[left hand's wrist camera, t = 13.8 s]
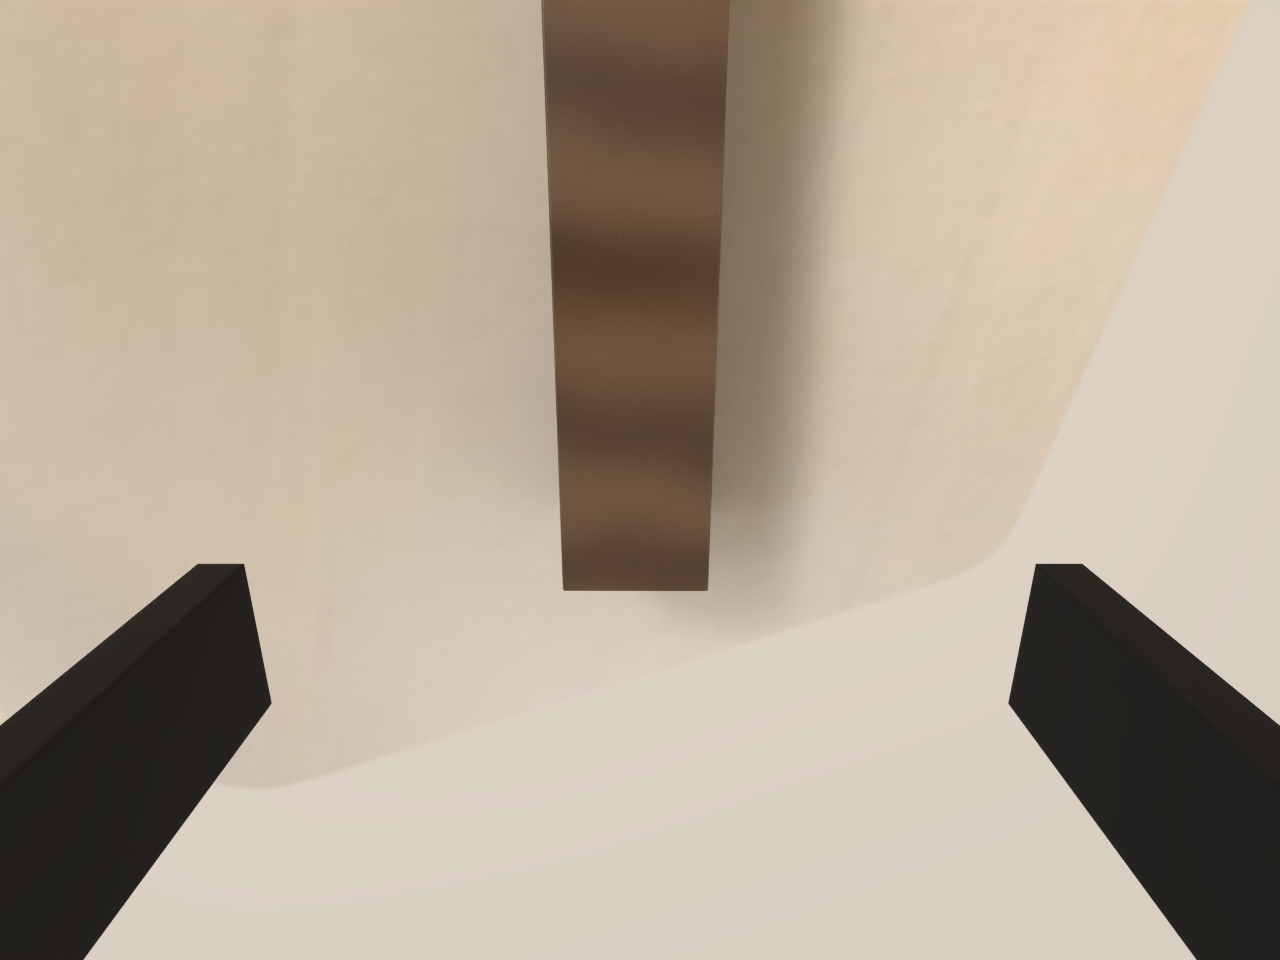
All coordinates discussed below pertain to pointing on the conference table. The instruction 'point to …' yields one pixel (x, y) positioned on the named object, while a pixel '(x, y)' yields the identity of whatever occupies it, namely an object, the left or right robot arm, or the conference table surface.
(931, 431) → the conference table surface
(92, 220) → the conference table surface
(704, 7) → the bar
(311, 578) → the conference table surface
